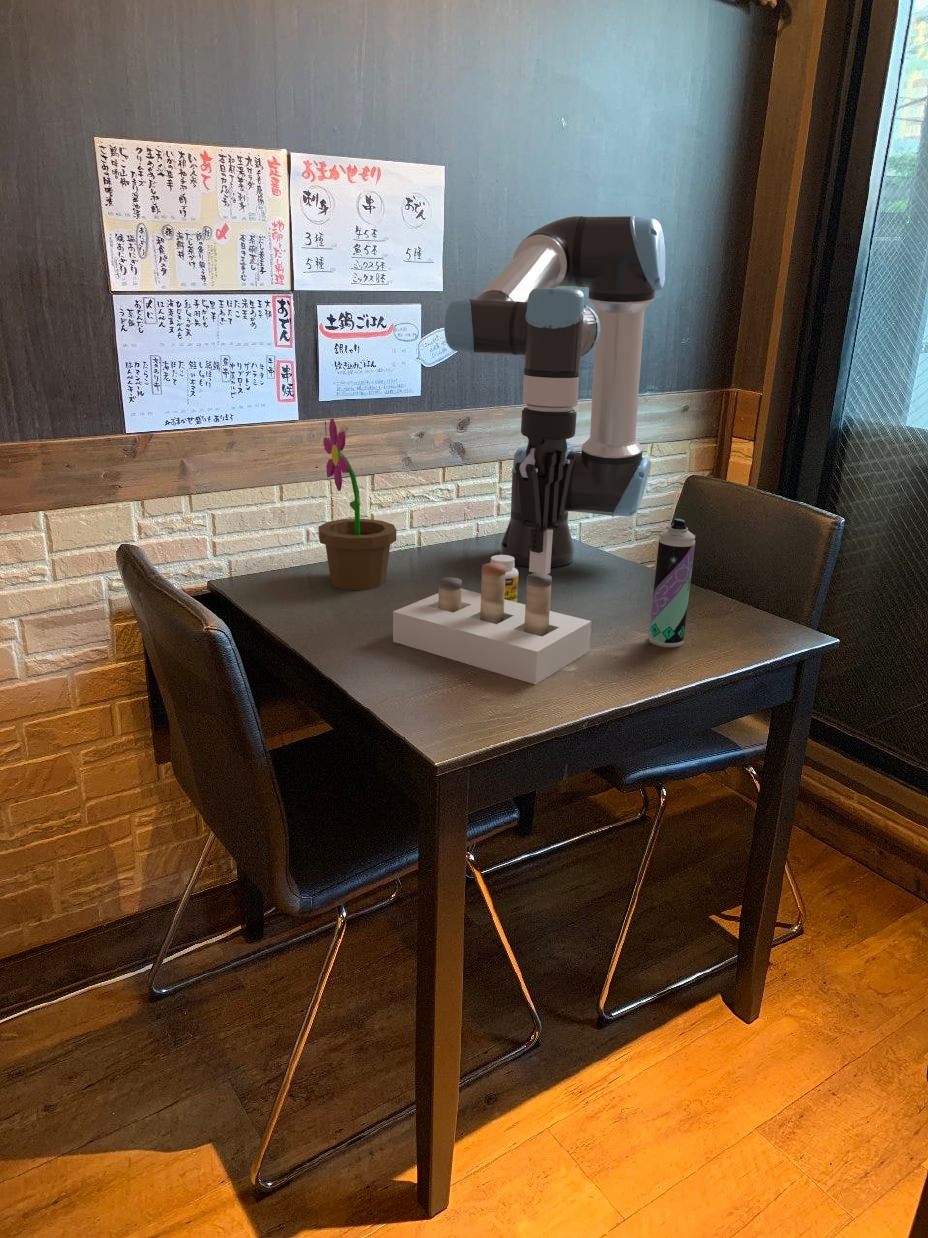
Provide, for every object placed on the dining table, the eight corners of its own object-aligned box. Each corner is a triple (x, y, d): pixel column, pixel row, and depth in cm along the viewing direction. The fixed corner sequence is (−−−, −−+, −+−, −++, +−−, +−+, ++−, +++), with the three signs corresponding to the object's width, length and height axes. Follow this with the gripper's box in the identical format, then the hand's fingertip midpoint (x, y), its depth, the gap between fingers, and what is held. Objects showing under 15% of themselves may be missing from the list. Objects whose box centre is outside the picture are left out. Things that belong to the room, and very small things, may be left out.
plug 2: (488, 616, 146) (490, 561, 143) (507, 621, 144) (510, 566, 141) (475, 622, 143) (477, 566, 140) (494, 628, 141) (497, 571, 138)
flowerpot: (308, 574, 176) (303, 414, 166) (379, 566, 183) (378, 411, 172) (334, 597, 164) (331, 426, 154) (408, 588, 171) (410, 422, 160)
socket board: (453, 614, 158) (453, 586, 156) (589, 651, 144) (591, 621, 142) (393, 641, 145) (393, 611, 144) (535, 684, 132) (537, 651, 130)
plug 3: (532, 628, 141) (535, 571, 138) (552, 633, 139) (556, 576, 136) (519, 634, 139) (522, 577, 135) (540, 640, 137) (543, 582, 134)
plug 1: (446, 628, 151) (447, 575, 148) (464, 633, 149) (466, 580, 146) (433, 634, 148) (434, 581, 145) (451, 640, 147) (452, 585, 143)
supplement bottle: (496, 623, 155) (498, 564, 151) (477, 613, 159) (479, 555, 155) (522, 617, 157) (526, 559, 154) (503, 608, 162) (506, 551, 158)
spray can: (642, 637, 150) (654, 516, 144) (670, 633, 152) (684, 514, 146) (660, 649, 146) (674, 524, 139) (690, 645, 148) (705, 522, 141)
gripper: (549, 400, 135) (540, 557, 143) (500, 408, 124) (493, 577, 133) (596, 405, 131) (583, 567, 139) (549, 414, 120) (538, 587, 129)
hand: (539, 571), depth 136 cm, fingers closed
